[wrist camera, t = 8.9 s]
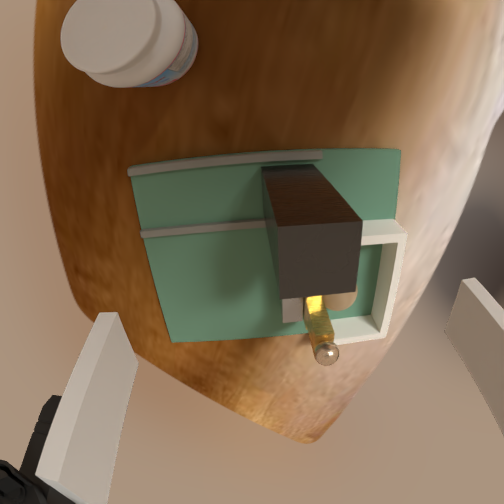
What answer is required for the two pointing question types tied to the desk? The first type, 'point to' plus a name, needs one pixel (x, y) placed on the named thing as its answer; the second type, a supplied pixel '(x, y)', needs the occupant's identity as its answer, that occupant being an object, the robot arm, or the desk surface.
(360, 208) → the board
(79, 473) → the robot arm
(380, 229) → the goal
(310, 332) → the block
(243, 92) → the desk surface
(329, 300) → the ball
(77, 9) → the pill bottle
